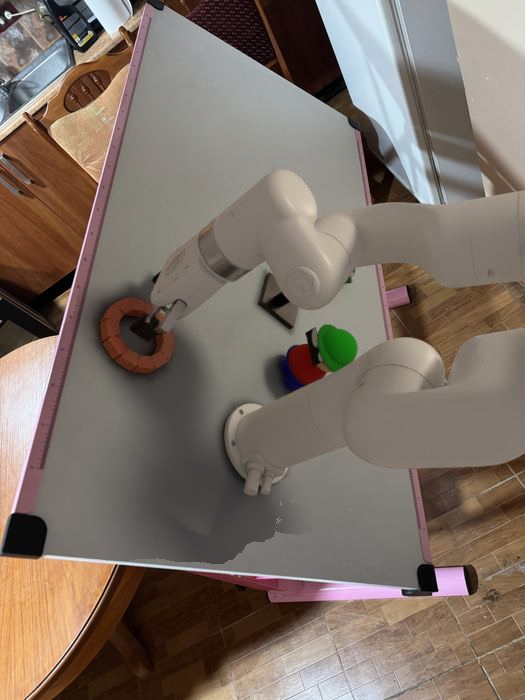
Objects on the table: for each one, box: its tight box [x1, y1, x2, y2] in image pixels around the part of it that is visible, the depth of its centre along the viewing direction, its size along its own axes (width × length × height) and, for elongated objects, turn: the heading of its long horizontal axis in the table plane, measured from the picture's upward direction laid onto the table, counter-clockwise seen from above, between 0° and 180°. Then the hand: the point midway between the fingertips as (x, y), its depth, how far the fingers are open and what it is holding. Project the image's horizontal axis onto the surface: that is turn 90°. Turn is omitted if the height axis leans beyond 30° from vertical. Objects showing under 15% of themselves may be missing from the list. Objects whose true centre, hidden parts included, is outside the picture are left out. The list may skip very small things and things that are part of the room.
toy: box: [280, 323, 359, 392], centre depth 92 cm, size 9×9×15 cm
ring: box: [99, 297, 175, 374], centre depth 76 cm, size 10×10×2 cm
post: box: [258, 272, 299, 330], centre depth 99 cm, size 8×8×14 cm
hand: (149, 309), depth 79 cm, fingers open, 9 cm apart
